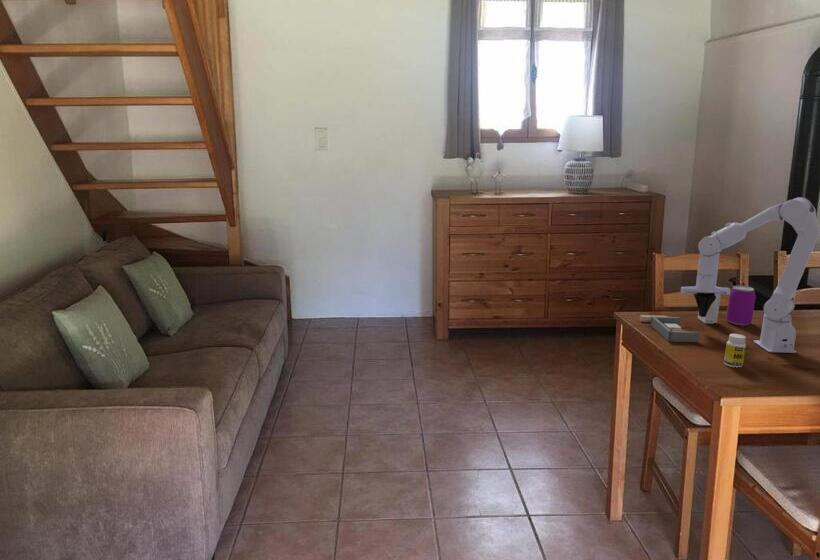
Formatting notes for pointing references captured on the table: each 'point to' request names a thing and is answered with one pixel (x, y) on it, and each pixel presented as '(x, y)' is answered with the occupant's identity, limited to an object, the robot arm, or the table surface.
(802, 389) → the table surface
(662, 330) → the box
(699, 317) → the skincare box
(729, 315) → the beverage can
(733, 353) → the supplement bottle
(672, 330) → the walnut tile
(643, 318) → the scraper
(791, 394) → the table surface
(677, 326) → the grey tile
